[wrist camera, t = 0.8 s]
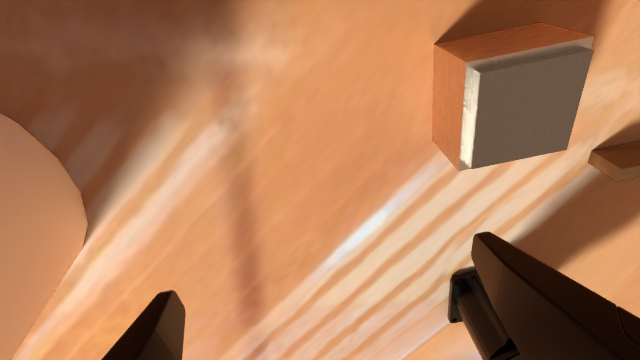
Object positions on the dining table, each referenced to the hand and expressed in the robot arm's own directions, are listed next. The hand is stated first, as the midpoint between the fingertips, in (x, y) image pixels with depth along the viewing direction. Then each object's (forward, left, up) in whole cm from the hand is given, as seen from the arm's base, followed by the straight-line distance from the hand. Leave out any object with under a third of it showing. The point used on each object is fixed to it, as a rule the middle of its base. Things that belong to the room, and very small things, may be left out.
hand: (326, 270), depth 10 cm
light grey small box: (-1, -11, -12) cm, 17 cm away
